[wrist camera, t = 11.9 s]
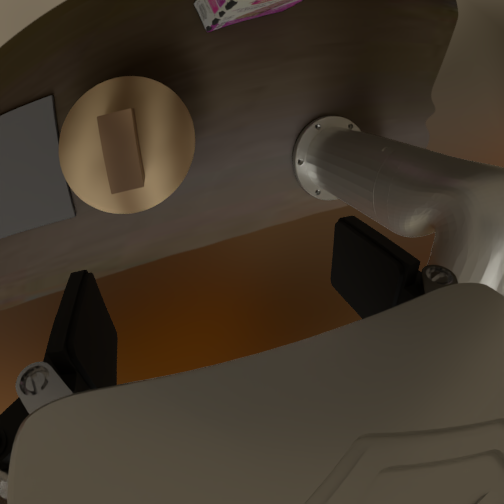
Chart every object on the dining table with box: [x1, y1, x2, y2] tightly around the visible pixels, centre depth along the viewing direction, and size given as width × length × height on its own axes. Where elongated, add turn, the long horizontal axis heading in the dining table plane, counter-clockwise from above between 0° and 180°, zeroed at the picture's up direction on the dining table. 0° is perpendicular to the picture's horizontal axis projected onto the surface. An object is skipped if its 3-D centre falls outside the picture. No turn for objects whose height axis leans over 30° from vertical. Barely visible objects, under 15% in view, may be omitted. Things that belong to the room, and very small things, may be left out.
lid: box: [59, 76, 195, 214], centre depth 24 cm, size 14×14×5 cm
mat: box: [0, 95, 76, 238], centre depth 27 cm, size 16×16×1 cm
